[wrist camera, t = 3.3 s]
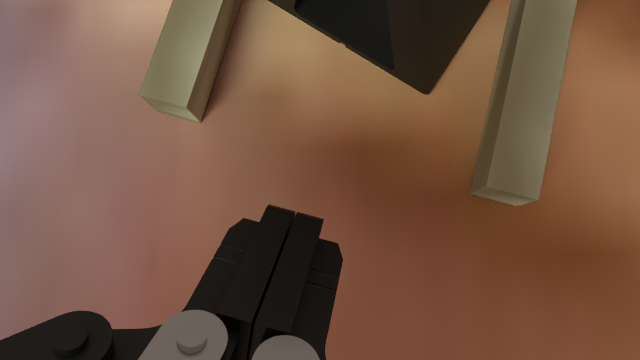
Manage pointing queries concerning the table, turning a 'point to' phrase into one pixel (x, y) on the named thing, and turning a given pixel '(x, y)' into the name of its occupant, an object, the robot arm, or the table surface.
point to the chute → (504, 106)
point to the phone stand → (395, 32)
